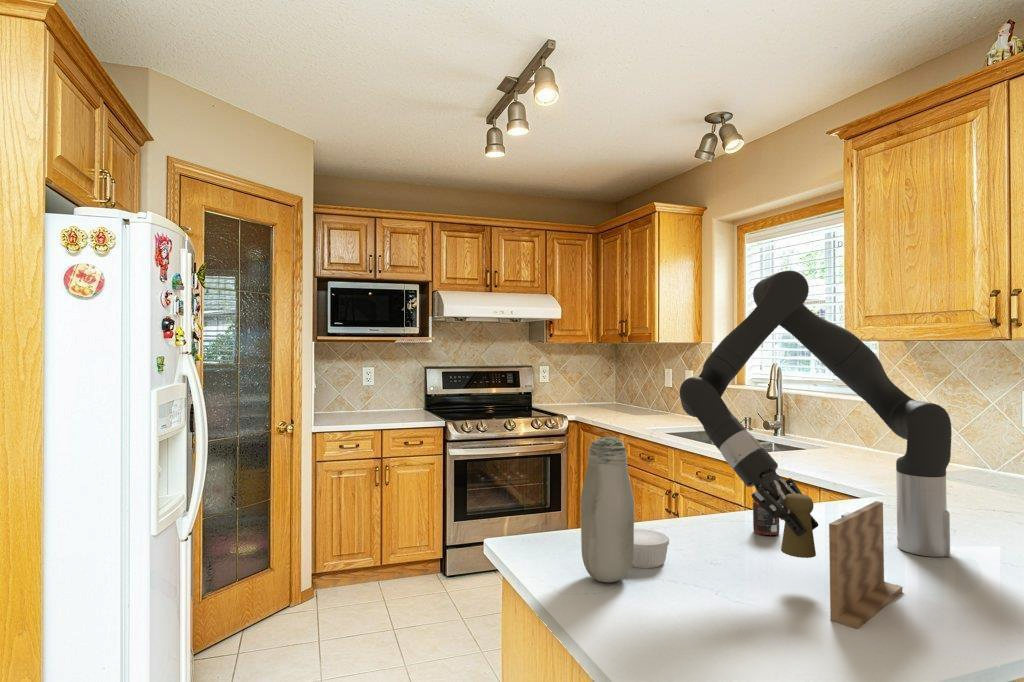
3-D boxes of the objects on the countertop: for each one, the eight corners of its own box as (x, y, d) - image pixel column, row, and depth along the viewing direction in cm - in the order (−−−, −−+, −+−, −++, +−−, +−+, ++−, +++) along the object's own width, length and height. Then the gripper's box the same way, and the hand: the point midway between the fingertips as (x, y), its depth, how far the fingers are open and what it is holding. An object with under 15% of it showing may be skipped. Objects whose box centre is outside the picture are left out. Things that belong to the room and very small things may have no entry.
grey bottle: (623, 593, 110) (621, 442, 110) (573, 582, 115) (572, 438, 116) (641, 576, 118) (640, 435, 119) (594, 566, 124) (593, 432, 124)
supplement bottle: (782, 537, 142) (781, 490, 142) (755, 536, 143) (755, 489, 143) (776, 530, 148) (775, 484, 148) (751, 528, 149) (750, 483, 149)
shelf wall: (877, 585, 113) (875, 501, 113) (902, 591, 110) (901, 505, 110) (830, 619, 99) (829, 523, 99) (858, 628, 96) (856, 529, 96)
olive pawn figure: (774, 547, 116) (774, 491, 116) (804, 546, 116) (804, 490, 116) (792, 558, 110) (792, 498, 110) (823, 557, 110) (822, 498, 110)
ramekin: (605, 556, 130) (605, 532, 130) (647, 549, 134) (647, 526, 134) (635, 574, 120) (635, 548, 120) (680, 565, 124) (679, 540, 124)
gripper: (742, 450, 114) (807, 527, 105) (776, 442, 123) (839, 513, 114) (717, 473, 118) (777, 550, 109) (752, 464, 127) (810, 534, 118)
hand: (808, 530), depth 112 cm, fingers closed on olive pawn figure, 4 cm apart
